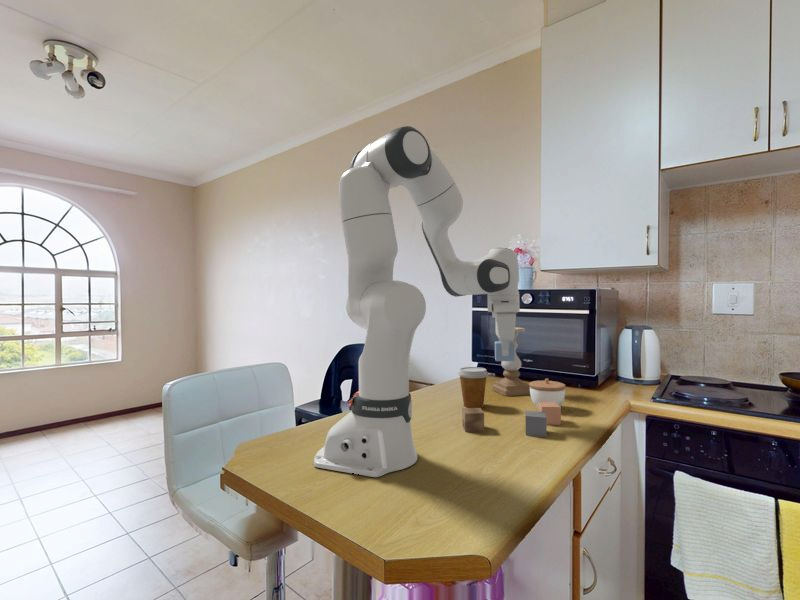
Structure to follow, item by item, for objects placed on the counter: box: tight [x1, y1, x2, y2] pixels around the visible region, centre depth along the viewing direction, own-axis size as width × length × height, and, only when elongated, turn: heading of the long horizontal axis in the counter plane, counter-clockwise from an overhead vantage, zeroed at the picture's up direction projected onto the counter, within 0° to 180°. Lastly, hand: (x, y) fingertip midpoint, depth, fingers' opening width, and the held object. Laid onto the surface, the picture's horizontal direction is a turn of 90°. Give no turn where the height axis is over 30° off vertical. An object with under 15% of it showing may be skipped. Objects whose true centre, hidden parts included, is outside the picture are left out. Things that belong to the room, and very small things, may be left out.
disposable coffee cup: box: [458, 366, 489, 409], centre depth 127 cm, size 10×10×12 cm
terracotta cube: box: [537, 402, 562, 426], centre depth 109 cm, size 5×5×5 cm
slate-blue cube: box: [494, 340, 514, 362], centre depth 111 cm, size 5×5×5 cm
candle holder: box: [491, 326, 530, 397], centre depth 145 cm, size 11×11×24 cm
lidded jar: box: [528, 378, 566, 409], centre depth 123 cm, size 11×11×9 cm
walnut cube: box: [461, 407, 485, 433], centre depth 105 cm, size 5×5×5 cm
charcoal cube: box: [524, 410, 548, 438], centre depth 100 cm, size 5×5×5 cm
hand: (504, 354), depth 111 cm, fingers closed on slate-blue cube, 5 cm apart
